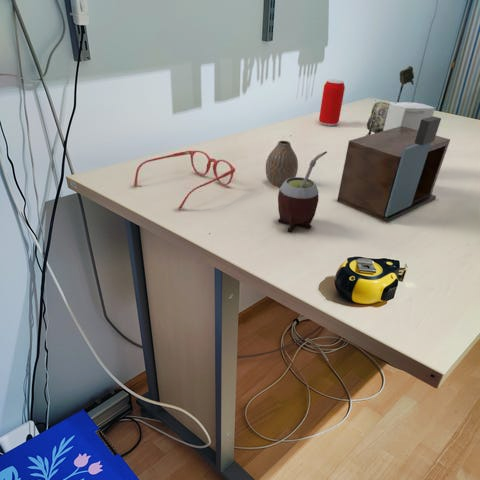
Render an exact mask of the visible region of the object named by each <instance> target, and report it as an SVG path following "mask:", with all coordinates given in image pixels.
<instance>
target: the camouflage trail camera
mask: <svg viewBox="0 0 480 480" xmlns="http://www.w3.org/2000/svg"><path fill="white" fill-rule="evenodd" d="M414 79H415V73H414V67H413V66H411V65H409V66H407V67H404V68H403V69H401V70H400V71H399V82H400V84H401V85H400V88H399V93H398V97H397V100H396V103H397V102H400V99H401V95H402V92H403V88H404V86H405V85H407V84H408V83H409V84H410V83H411V85H412V86H414V84H415V83H414ZM374 101H375V103H374V104H373V106H372V110H371V112H370V116H369V118H368V120H367V122H366V128H367V130H368V133H367V134H366V135H365V136H367V135H371V134H372V133H373V134H375V133H378V132H382V131H383V129H384V125H385V121H386V117H387V113H388V109H389V105H390V103H389V102H385V101H377V99H376V100H375V99H374ZM376 101H377V102H376Z"/></svg>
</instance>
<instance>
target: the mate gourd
mask: <svg viewBox="0 0 480 480" xmlns="http://www.w3.org/2000/svg"><path fill="white" fill-rule="evenodd" d="M326 154H328V151H327V150H325V151H323V152H321V153H319V154H317V155H316V156H315V157H313V158H312V159H311V161H310V163H309V167H308V169H307V172H306V174H305V177H300V176H296V177H293V178H289V179H287V180H286V181H285V182H284V183H283V184H282V186H281V187H279V191H278V194H277V207H278V208H277V209H278V215H279V218H278V219H277V222H278V223H279V224H284V225H287V226H288V225H289V227H288V228H287V232H288V233H293V232H294V230H295V228H301V229H306V230H311V229H312V225H311V224H312V222H313V220H314V217H315V215H316V213H317V208H318V204H319V190H318V187H317V184H316V183H315V182H314V181H313V180H312V179H309V177H310V175H311V173H312V170H313V168H314V167H315V165H316V164H317V161H318V160H319V159H320V158H322V157H323V156H325V155H326Z"/></svg>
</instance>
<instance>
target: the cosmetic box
mask: <svg viewBox="0 0 480 480" xmlns="http://www.w3.org/2000/svg"><path fill="white" fill-rule="evenodd" d="M389 104H390V105H389V109H388V113H387V117H386V121H385V125H384V129H383V131H385V130H389V129H392V128H396V127H400V126H403V127H407V128H411V129H414V130H418V129H419V126H420V122H421V120H422V119H425V118H429V117H433V116H434V114H435V110H436V107H434V106H432V105H428V104H424V103H421V102H408V101H407V102H406V101H403V102H402V101H401V102H400V101H399V102H397V101H396V102H390V103H389Z"/></svg>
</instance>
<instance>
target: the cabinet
mask: <svg viewBox="0 0 480 480" xmlns="http://www.w3.org/2000/svg"><path fill="white" fill-rule="evenodd" d="M417 133H418V130H414V129H411V128H407V127H403V126H400V127H396V128H392V129H389V130H385V131H382V132H378V133H371V134H370V135H367V134H366V135H367V136H366V135H364V136H361V137H358V138H354V139H350V140H348V143H347V147H346V148H347V149H346V153H345V159H344V164H343V169H342V174H341V178H340V179H341V180H340V184H339V190H338V194H337V198H336V201H337V202H338V203H340V204H343V205H345V206H347V207H350V208H352V209H354V210H356V211H359V212H361V213H364V214H366V215H368V216H370V217H372V218H375V219H377V220H380V221H382V222H385V223H386V224H388V223H389V222H392V221H394V220H396V219H398V218H400V217H402V216H404V215H407V214H409V213H410V212H412V211H414V210H416V209H418V208H421V207H422V206H424V205H427V204H429V203H431V202H434V201H435V200H436V198H437V195H434V194H433V191H434V189H435V186H436V182H437V181H438V180H437V179H438V177H439V173H440V172H441V167H442V165H443V162H444V159H445V157H446V154H447V151H448V148H449V145H450V141H451V139H450V138H447V137H444V136H440V135H436V136H435V139H434V142H431V145H430V148H429V151H428V154H427V158H426V161H425V164H424V167H423V170H422V173H421V176H420V180H419V183H418V186H417V189H416V192H415V195H414V198H413V202H412V205H411V206H409V207H407V208H405V209H402V210H400V211H398V212H396V213H394V214H392V215H390V216H388V217H386V216H385V214H386V210H387V206H388V203H389V199H390V196H391V192H392V189H393V185H394V181H395V178H396V174H397V171H398V167H399V164H400V160H401V156H402V153H403V149H404V148H407V147H410V146H413V145H416V143H415V139H416V136H417Z"/></svg>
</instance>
